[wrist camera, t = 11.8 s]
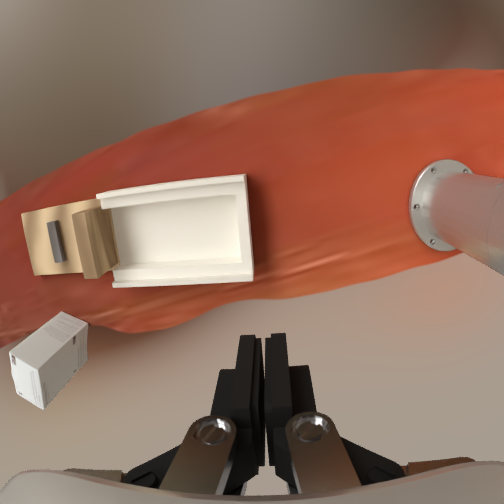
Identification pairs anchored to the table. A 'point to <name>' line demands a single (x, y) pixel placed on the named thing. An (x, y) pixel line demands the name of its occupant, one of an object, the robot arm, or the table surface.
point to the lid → (71, 239)
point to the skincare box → (49, 358)
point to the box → (182, 232)
